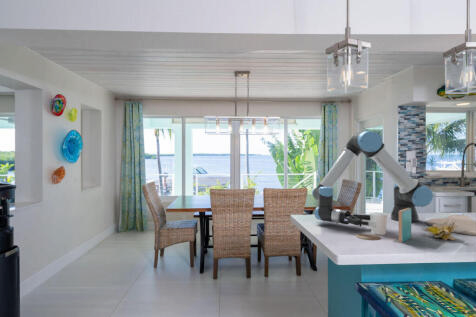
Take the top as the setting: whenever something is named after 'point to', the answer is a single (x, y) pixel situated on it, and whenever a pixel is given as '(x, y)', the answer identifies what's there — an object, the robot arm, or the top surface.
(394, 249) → the top surface
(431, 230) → the decorative flower
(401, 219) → the tile
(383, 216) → the white cup
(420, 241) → the mat
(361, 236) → the coaster
